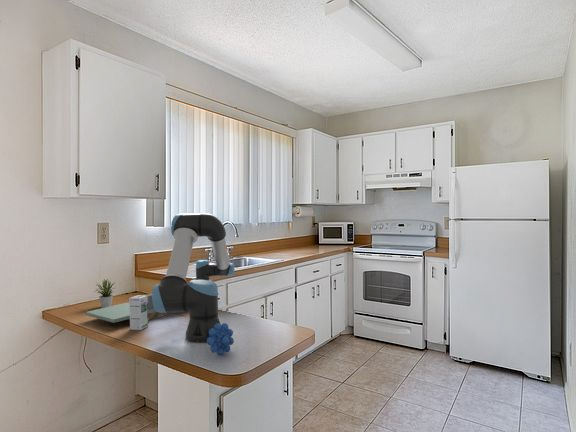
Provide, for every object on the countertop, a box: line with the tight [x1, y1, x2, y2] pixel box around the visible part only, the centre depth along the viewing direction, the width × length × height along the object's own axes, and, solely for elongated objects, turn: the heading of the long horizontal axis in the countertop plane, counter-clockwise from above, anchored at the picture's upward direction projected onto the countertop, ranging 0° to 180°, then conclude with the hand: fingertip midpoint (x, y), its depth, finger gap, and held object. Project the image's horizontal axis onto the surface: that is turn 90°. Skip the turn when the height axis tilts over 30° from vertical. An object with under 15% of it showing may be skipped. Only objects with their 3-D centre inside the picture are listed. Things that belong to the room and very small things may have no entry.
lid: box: [85, 293, 156, 324], centre depth 180 cm, size 22×25×8 cm
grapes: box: [206, 322, 235, 356], centre depth 131 cm, size 12×7×12 cm, turn 138°
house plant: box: [93, 278, 115, 309], centre depth 207 cm, size 14×14×16 cm
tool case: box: [127, 311, 172, 321], centre depth 190 cm, size 22×24×3 cm
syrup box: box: [128, 294, 149, 331], centre depth 166 cm, size 6×6×14 cm
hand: (152, 298), depth 183 cm, fingers closed
